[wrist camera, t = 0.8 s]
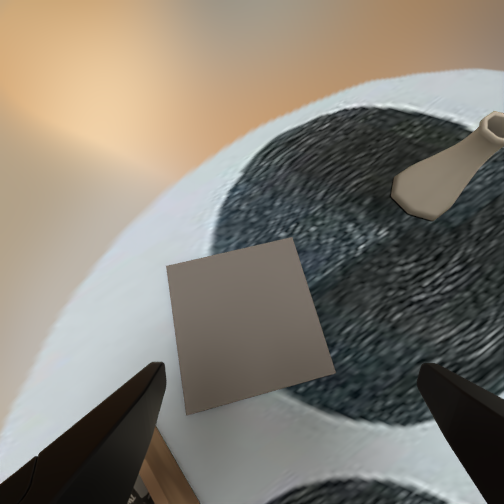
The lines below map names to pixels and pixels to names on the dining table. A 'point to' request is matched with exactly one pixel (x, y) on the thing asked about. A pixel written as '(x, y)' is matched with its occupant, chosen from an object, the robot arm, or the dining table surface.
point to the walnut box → (164, 475)
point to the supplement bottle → (140, 493)
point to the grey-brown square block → (245, 325)
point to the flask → (447, 171)
